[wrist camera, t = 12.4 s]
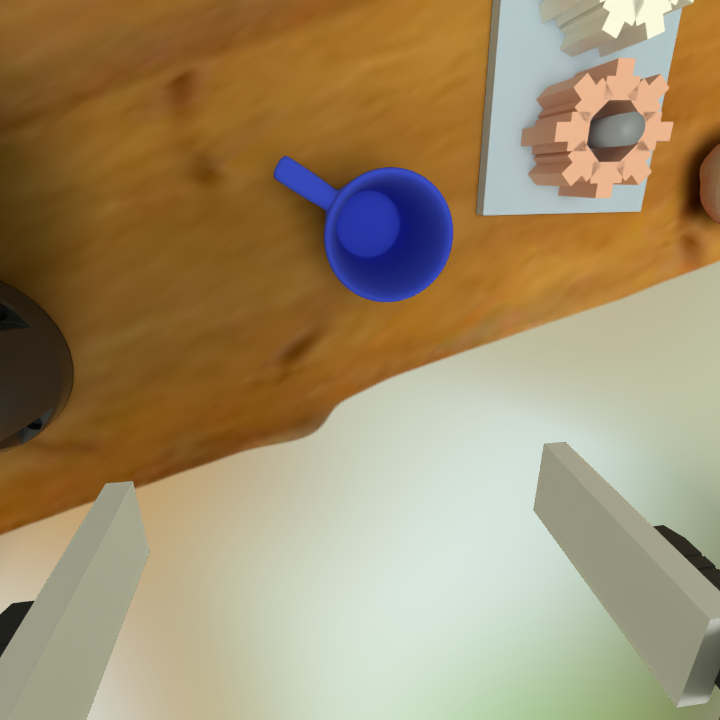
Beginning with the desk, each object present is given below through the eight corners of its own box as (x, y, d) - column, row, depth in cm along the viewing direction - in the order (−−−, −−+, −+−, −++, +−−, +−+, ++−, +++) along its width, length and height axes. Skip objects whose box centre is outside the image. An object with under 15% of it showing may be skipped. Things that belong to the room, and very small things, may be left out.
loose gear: (528, 73, 34) (565, 56, 29) (634, 74, 35) (687, 59, 30) (515, 196, 37) (546, 199, 32) (613, 194, 38) (657, 196, 34)
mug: (306, 117, 34) (312, 95, 25) (433, 206, 38) (479, 216, 29) (255, 215, 36) (242, 227, 27) (380, 290, 40) (407, 324, 31)
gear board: (476, 214, 39) (519, 222, 31) (501, -113, 31) (567, -204, 23) (628, 210, 40) (703, 217, 33) (689, -100, 33) (805, -181, 25)
